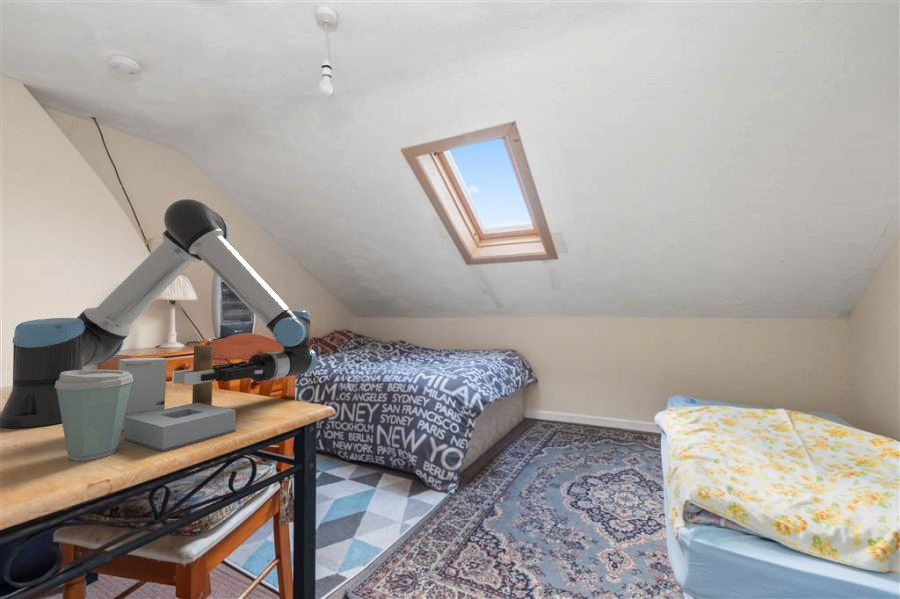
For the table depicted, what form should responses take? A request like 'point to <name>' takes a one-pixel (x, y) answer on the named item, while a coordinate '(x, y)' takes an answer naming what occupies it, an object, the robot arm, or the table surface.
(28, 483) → the table surface
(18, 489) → the table surface
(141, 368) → the skincare box
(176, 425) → the bore block
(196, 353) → the walnut dowel
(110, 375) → the disposable coffee cup
